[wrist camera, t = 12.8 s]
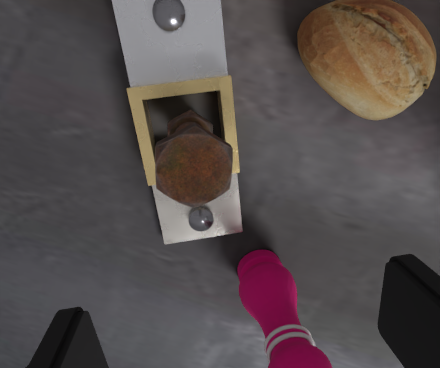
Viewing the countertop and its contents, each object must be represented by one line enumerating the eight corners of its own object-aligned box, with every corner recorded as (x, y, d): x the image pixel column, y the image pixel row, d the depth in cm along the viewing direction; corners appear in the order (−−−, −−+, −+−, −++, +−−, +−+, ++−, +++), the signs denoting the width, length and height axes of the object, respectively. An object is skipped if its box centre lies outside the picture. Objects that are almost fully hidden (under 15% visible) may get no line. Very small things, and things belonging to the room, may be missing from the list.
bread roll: (325, -26, 29) (373, -58, 22) (422, 59, 33) (490, 56, 26) (271, 63, 32) (297, 61, 24) (368, 131, 36) (416, 148, 28)
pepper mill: (258, 295, 43) (315, 465, 25) (223, 271, 41) (256, 439, 22) (293, 263, 42) (381, 417, 23) (258, 236, 39) (325, 384, 21)
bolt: (155, 133, 33) (135, 180, 19) (177, 93, 31) (174, 113, 18) (199, 158, 34) (210, 219, 21) (222, 122, 33) (251, 161, 19)
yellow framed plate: (216, -25, 28) (220, -37, 25) (240, 227, 39) (246, 241, 35) (110, -15, 27) (101, -26, 24) (165, 239, 38) (163, 255, 35)
